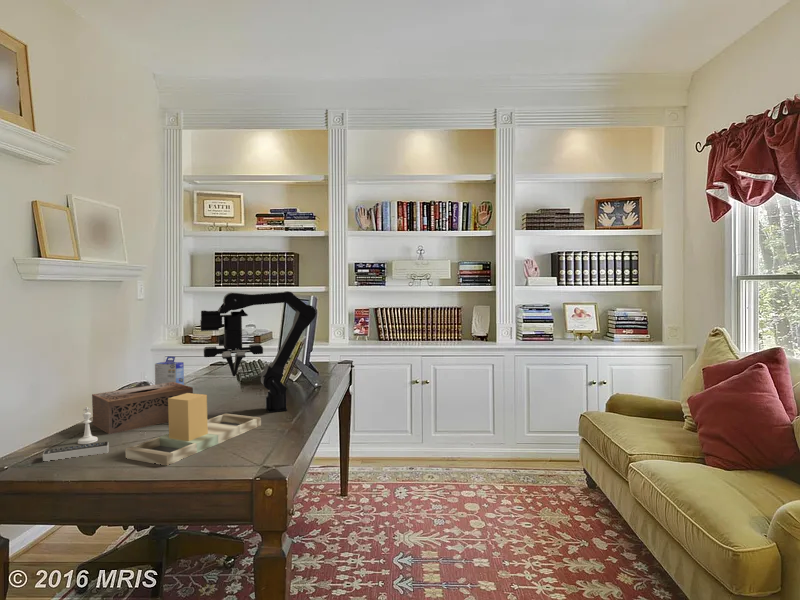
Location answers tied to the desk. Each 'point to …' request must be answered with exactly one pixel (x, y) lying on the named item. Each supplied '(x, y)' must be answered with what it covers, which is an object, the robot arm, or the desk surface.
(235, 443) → the desk surface
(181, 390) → the tissue box cover
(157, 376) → the ink cartridge box
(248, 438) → the desk surface
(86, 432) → the chess piece
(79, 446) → the multiport hub
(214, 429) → the trap board
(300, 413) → the desk surface
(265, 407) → the robot arm
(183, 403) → the ochre block
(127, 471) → the desk surface
